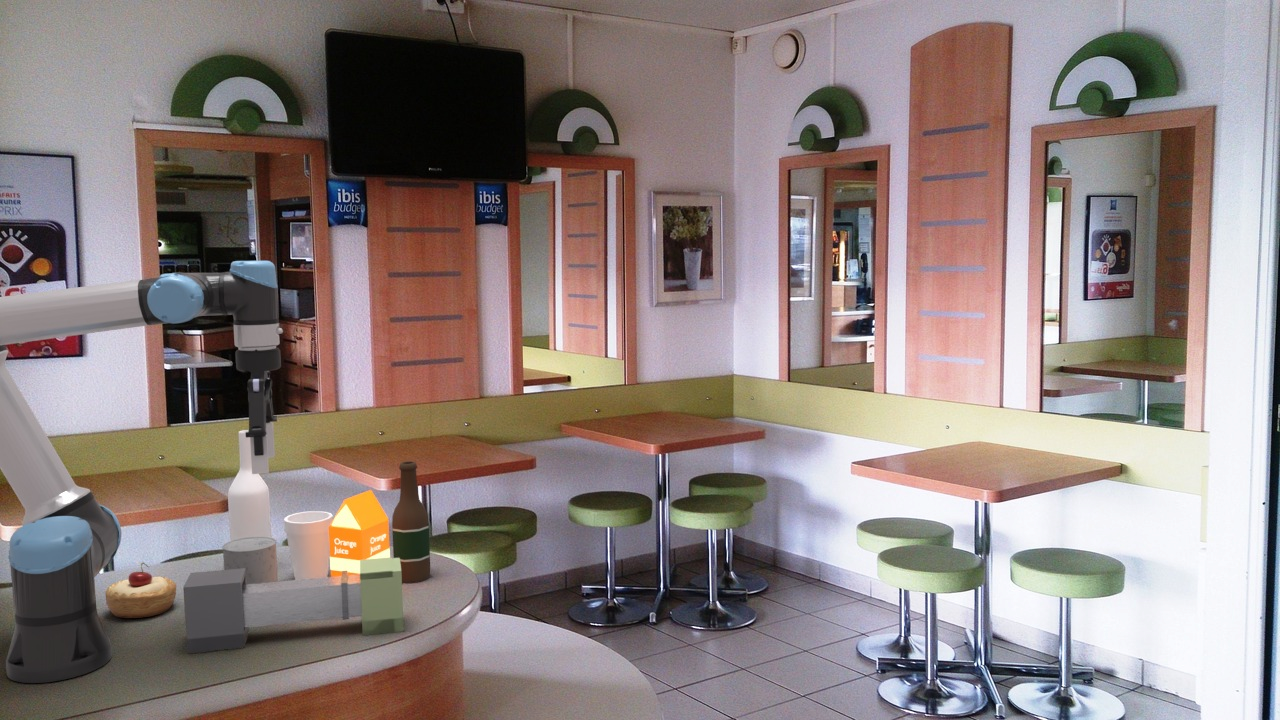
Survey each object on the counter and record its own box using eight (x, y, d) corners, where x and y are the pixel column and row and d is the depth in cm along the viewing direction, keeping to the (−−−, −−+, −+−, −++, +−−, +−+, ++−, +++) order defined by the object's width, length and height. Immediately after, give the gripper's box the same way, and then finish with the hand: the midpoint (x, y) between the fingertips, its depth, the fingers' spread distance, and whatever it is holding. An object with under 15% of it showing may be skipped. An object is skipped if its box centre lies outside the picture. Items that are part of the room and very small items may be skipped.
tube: (237, 630, 178) (235, 592, 177) (241, 616, 185) (239, 580, 184) (388, 615, 184) (386, 579, 183) (387, 602, 191) (385, 567, 190)
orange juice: (331, 599, 201) (326, 498, 199) (359, 585, 210) (355, 488, 207) (365, 604, 199) (360, 501, 196) (392, 590, 207) (388, 491, 204)
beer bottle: (401, 570, 219) (396, 458, 216) (436, 572, 218) (432, 458, 215) (387, 582, 211) (382, 466, 208) (424, 584, 210) (419, 467, 207)
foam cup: (326, 586, 209) (323, 523, 208) (280, 586, 209) (277, 523, 208) (340, 571, 219) (338, 510, 217) (296, 571, 219) (293, 511, 217)
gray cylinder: (262, 617, 192) (258, 552, 191) (215, 614, 194) (211, 549, 193) (289, 599, 202) (286, 537, 200) (244, 597, 204) (241, 535, 202)
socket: (362, 635, 183) (360, 573, 182) (362, 619, 191) (359, 559, 189) (403, 631, 185) (401, 569, 183) (401, 615, 192) (399, 556, 191)
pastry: (98, 625, 190) (95, 577, 188) (116, 603, 201) (113, 558, 200) (169, 619, 192) (166, 572, 191) (183, 598, 203) (180, 553, 202)
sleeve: (187, 653, 176) (183, 587, 174) (194, 636, 183) (190, 572, 182) (244, 647, 178) (240, 582, 177) (249, 631, 186) (245, 568, 184)
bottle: (226, 579, 215) (217, 435, 211) (240, 566, 223) (232, 427, 219) (265, 578, 215) (257, 434, 211) (278, 566, 223) (271, 427, 219)
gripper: (274, 354, 175) (281, 478, 177) (284, 340, 198) (290, 450, 201) (226, 355, 173) (233, 481, 175) (242, 342, 197) (248, 453, 199)
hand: (263, 465), depth 188 cm, fingers open, 13 cm apart
